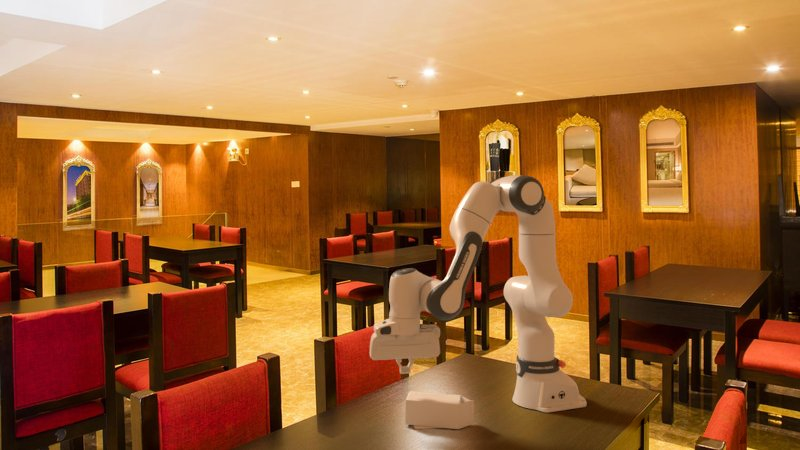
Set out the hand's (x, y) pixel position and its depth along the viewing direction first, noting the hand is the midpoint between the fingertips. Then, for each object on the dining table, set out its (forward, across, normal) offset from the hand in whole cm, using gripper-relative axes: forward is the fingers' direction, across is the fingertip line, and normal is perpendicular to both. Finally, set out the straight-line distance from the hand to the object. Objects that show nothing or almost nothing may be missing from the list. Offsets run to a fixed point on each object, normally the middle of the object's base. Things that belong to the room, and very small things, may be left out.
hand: (405, 373), depth 167 cm
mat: (+14, -9, +1) cm, 16 cm away
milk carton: (+10, 0, +2) cm, 10 cm away
